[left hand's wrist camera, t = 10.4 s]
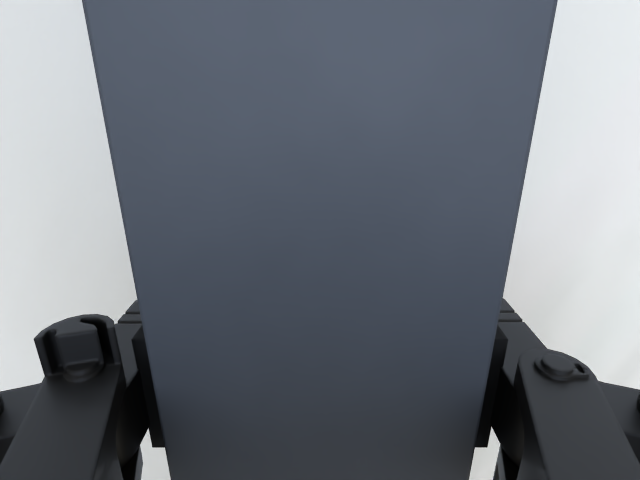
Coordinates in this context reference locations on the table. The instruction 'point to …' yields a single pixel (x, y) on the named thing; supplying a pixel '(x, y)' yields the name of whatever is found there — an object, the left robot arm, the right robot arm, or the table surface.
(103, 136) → the table surface
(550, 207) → the table surface
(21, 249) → the table surface
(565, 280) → the table surface
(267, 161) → the post
